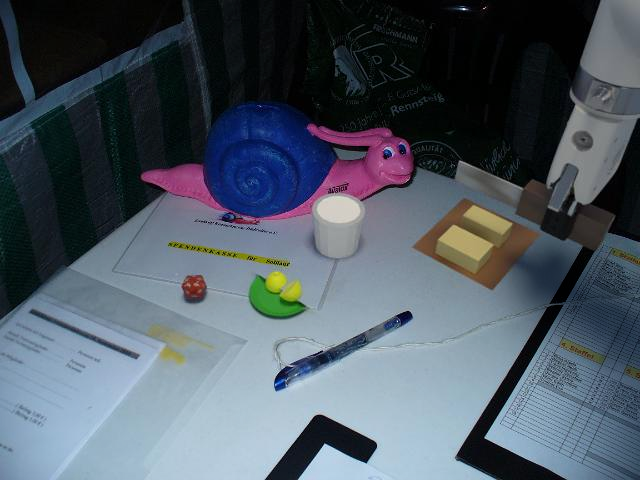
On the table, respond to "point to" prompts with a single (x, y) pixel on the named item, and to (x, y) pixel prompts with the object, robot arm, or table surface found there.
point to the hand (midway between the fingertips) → (559, 226)
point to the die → (194, 286)
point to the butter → (464, 248)
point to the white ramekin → (337, 224)
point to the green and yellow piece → (276, 295)
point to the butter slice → (486, 225)
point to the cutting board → (499, 257)
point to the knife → (538, 204)
